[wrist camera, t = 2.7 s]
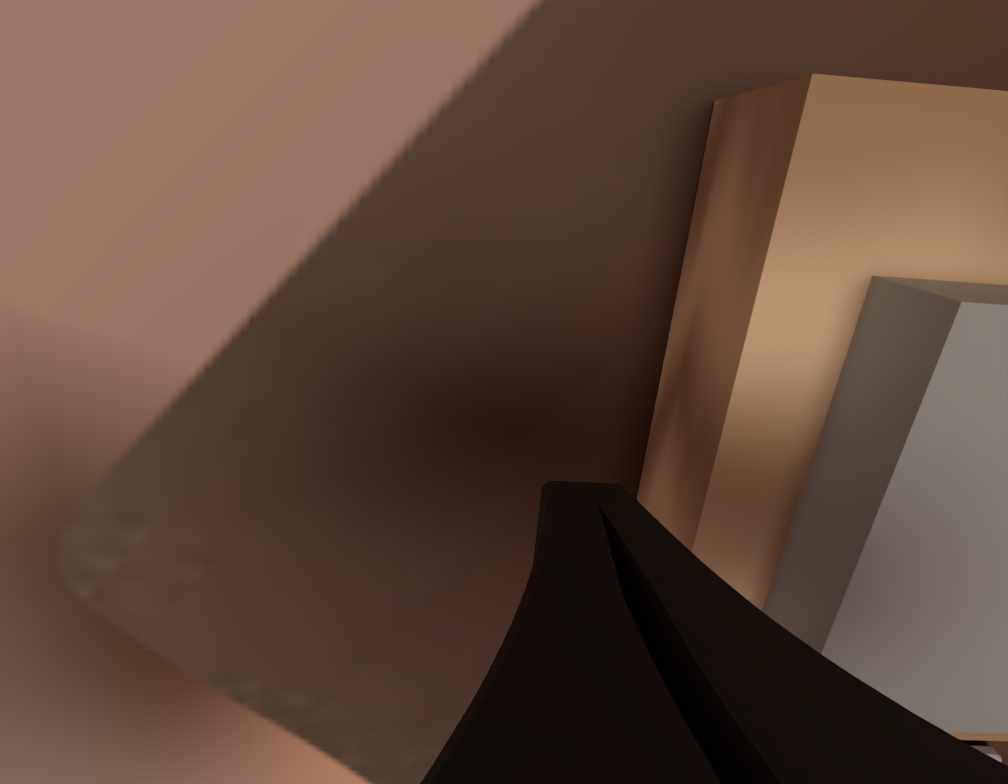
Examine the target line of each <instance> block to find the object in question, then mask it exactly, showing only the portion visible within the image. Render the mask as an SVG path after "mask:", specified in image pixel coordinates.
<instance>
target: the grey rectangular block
mask: <svg viewBox="0 0 1008 784" xmlns="http://www.w3.org/2000/svg"><path fill="white" fill-rule="evenodd" d="M762 612H764V613H765V614H766V615H768V616H769V617H770V618H771V619H773V620H774V621H775V622H777V623H778V624H780V625H781V626H782V627H784V628H785V629H787V630H788V631H789V632H791V633H792V634H794V635H795V636H796V637H798V638H799V639H801V640H802V641H803V642H805V643H806V644H808V645H809V646H810V647H812V648H813V649H815V650H816V651H817V652H819V653H820V654H822V655H823V656H825V657H826V658H827V659H829V660H831V661H832V662H834V663H835V664H837V665H838V666H840V667H841V668H843V669H844V670H846V671H847V672H849V673H850V674H852V675H853V676H855V677H856V678H858V679H860V680H861V681H863V682H864V683H866V684H868V685H869V686H871V687H872V688H874V689H876V690H877V691H879V692H880V693H882V694H884V695H885V696H887V697H888V698H890V699H892V700H893V701H895V702H897V703H898V704H900V705H901V706H903V707H905V708H906V709H908V710H909V711H911V712H913V713H914V714H916V715H918V716H919V717H921V718H923V719H925V720H926V721H928V722H930V723H932V724H933V725H935V726H937V727H938V728H940V729H942V730H944V731H945V732H964V733H1003V734H1008V285H998V284H984V283H970V282H956V281H941V280H927V279H913V278H899V277H885V276H872V279H871V282H870V285H869V288H868V291H867V294H866V297H865V300H864V303H863V306H862V309H861V312H860V315H859V318H858V321H857V324H856V327H855V330H854V333H853V336H852V339H851V342H850V345H849V348H848V351H847V354H846V358H845V361H844V364H843V367H842V370H841V373H840V376H839V379H838V382H837V385H836V388H835V391H834V394H833V397H832V400H831V403H830V406H829V409H828V412H827V415H826V418H825V421H824V424H823V427H822V430H821V433H820V436H819V439H818V442H817V446H816V449H815V452H814V455H813V458H812V461H811V464H810V467H809V470H808V473H807V476H806V479H805V482H804V485H803V488H802V491H801V494H800V497H799V500H798V503H797V506H796V509H795V512H794V515H793V518H792V521H791V524H790V527H789V531H788V534H787V537H786V540H785V543H784V546H783V549H782V552H781V555H780V558H779V561H778V564H777V567H776V570H775V573H774V576H773V579H772V582H771V585H770V588H769V591H768V594H767V597H766V600H765V603H764V606H763V609H762Z"/></svg>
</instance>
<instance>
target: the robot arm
mask: <svg viewBox="0 0 1008 784" xmlns="http://www.w3.org/2000/svg"><path fill="white" fill-rule="evenodd" d="M1001 762H1002V758H1001V756H1000V755H999V754H998V753H997V752H996V751H995V749H993V748H992V747H989V746H972V745H968V744H966V743H964V742H963V741H961V740H959V739H957V738H956V737H954V736H952V735H951V734H949V733H947V732H945V731H944V730H942V729H940V728H938V727H937V726H935V725H933V724H932V723H930V722H928V721H926V720H925V719H923V718H921V717H919V716H918V715H916V714H914V713H913V712H911V711H909V710H908V709H906V708H905V707H903V706H901V705H900V704H898V703H897V702H895V701H893V700H892V699H890V698H888V697H887V696H885V695H884V694H882V693H880V692H879V691H877V690H876V689H874V688H872V687H871V686H869V685H868V684H866V683H864V682H863V681H861V680H860V679H858V678H856V677H855V676H853V675H852V674H850V673H849V672H847V671H846V670H844V669H843V668H841V667H840V666H838V665H837V664H835V663H834V662H832V661H831V660H829V659H827V658H826V657H825V656H823V655H822V654H820V653H819V652H817V651H816V650H815V649H813V648H812V647H810V646H809V645H808V644H806V643H805V642H803V641H802V640H801V639H799V638H798V637H796V636H795V635H794V634H792V633H791V632H789V631H788V630H787V629H785V628H784V627H782V626H781V625H780V624H778V623H777V622H775V621H774V620H773V619H771V618H770V617H769V616H768V615H766V614H765V613H764V612H762V611H761V610H760V609H758V608H757V607H756V606H755V605H753V604H752V603H751V602H750V601H748V600H747V599H746V598H745V597H743V596H742V595H741V594H740V593H739V592H737V591H736V590H735V589H734V588H733V587H731V586H730V585H729V584H728V583H726V582H725V581H724V580H723V579H722V578H720V577H719V576H718V575H717V574H716V573H715V572H713V571H712V570H711V569H710V568H709V567H708V566H707V565H705V564H704V563H703V562H702V561H701V560H700V559H699V558H697V557H696V556H695V555H694V554H693V553H692V552H691V551H690V550H689V549H688V548H686V547H685V546H684V545H683V544H682V543H681V542H680V541H679V540H678V539H677V538H676V537H675V536H674V535H673V534H671V533H670V532H669V531H668V530H667V529H666V528H665V527H664V526H663V525H662V524H661V523H660V522H659V521H658V520H657V519H656V518H655V517H654V516H653V515H652V514H651V513H650V512H649V511H648V510H646V509H645V508H644V507H643V506H642V505H641V504H640V503H639V502H638V501H637V500H636V499H635V498H634V497H633V496H632V495H631V494H630V493H629V492H628V491H627V490H626V489H624V488H623V487H622V486H621V485H620V484H607V483H586V482H565V481H549V482H547V483H546V484H545V485H543V486H542V492H541V501H540V509H539V518H538V526H537V535H536V544H535V552H534V561H533V568H532V571H531V574H530V577H529V580H528V583H527V586H526V589H525V592H524V594H523V597H522V599H521V602H520V605H519V607H518V610H517V612H516V614H515V617H514V619H513V621H512V624H511V626H510V628H509V630H508V632H507V635H506V637H505V639H504V641H503V643H502V645H501V647H500V649H499V651H498V653H497V655H496V657H495V659H494V661H493V663H492V665H491V667H490V669H489V671H488V673H487V675H486V677H485V679H484V681H483V682H482V684H481V686H480V688H479V690H478V692H477V693H476V695H475V697H474V699H473V700H472V702H471V704H470V706H469V707H468V709H467V710H466V712H465V714H464V715H463V717H462V719H461V720H460V722H459V723H458V725H457V727H456V728H455V730H454V732H453V733H452V735H451V736H450V738H449V740H448V741H447V743H446V745H445V746H444V748H443V749H442V751H441V753H440V754H439V756H438V758H437V759H436V761H435V762H434V764H433V765H432V767H431V768H430V770H429V771H428V773H427V774H426V776H425V777H424V779H423V780H422V782H421V783H420V784H1008V766H1007V765H1005V764H1003V763H1001Z"/></svg>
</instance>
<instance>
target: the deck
mask: <svg viewBox="0 0 1008 784" xmlns="http://www.w3.org/2000/svg"><path fill="white" fill-rule="evenodd" d="M872 276H885V277H899V278H913V279H927V280H941V281H956V282H970V283H984V284H998V285H1008V91H999V90H988V89H977V88H966V87H955V86H944V85H933V84H922V83H911V82H899V81H888V80H877V79H866V78H855V77H844V76H833V75H822V74H809V75H806V76H802V77H798V78H795V79H791V80H788V81H784V82H780V83H777V84H773V85H769V86H766V87H762V88H758V89H755V90H751V91H747V92H744V93H740V94H736V95H733V96H729V97H725V98H722V99H718V100H715V101H714V106H713V111H712V117H711V122H710V127H709V132H708V137H707V142H706V147H705V152H704V158H703V163H702V168H701V173H700V178H699V183H698V188H697V193H696V198H695V204H694V209H693V214H692V219H691V224H690V229H689V234H688V239H687V244H686V250H685V255H684V260H683V265H682V270H681V275H680V280H679V285H678V290H677V296H676V301H675V306H674V311H673V316H672V321H671V326H670V331H669V337H668V342H667V347H666V352H665V357H664V362H663V367H662V372H661V377H660V383H659V388H658V393H657V398H656V403H655V408H654V413H653V418H652V423H651V429H650V434H649V439H648V444H647V449H646V454H645V459H644V464H643V470H642V475H641V480H640V485H639V490H638V495H637V501H638V502H639V503H640V504H641V505H642V506H643V507H644V508H645V509H646V510H648V511H649V512H650V513H651V514H652V515H653V516H654V517H655V518H656V519H657V520H658V521H659V522H660V523H661V524H662V525H663V526H664V527H665V528H666V529H667V530H668V531H669V532H670V533H671V534H673V535H674V536H675V537H676V538H677V539H678V540H679V541H680V542H681V543H682V544H683V545H684V546H685V547H686V548H688V549H689V550H690V551H691V552H692V553H693V554H694V555H695V556H696V557H697V558H699V559H700V560H701V561H702V562H703V563H704V564H705V565H707V566H708V567H709V568H710V569H711V570H712V571H713V572H715V573H716V574H717V575H718V576H719V577H720V578H722V579H723V580H724V581H725V582H726V583H728V584H729V585H730V586H731V587H733V588H734V589H735V590H736V591H737V592H739V593H740V594H741V595H742V596H743V597H745V598H746V599H747V600H748V601H750V602H751V603H752V604H753V605H755V606H756V607H757V608H758V609H760V610H761V611H762V609H763V606H764V603H765V600H766V597H767V594H768V591H769V588H770V585H771V582H772V579H773V576H774V573H775V570H776V567H777V564H778V561H779V558H780V555H781V552H782V549H783V546H784V543H785V540H786V537H787V534H788V531H789V527H790V524H791V521H792V518H793V515H794V512H795V509H796V506H797V503H798V500H799V497H800V494H801V491H802V488H803V485H804V482H805V479H806V476H807V473H808V470H809V467H810V464H811V461H812V458H813V455H814V452H815V449H816V446H817V442H818V439H819V436H820V433H821V430H822V427H823V424H824V421H825V418H826V415H827V412H828V409H829V406H830V403H831V400H832V397H833V394H834V391H835V388H836V385H837V382H838V379H839V376H840V373H841V370H842V367H843V364H844V361H845V358H846V354H847V351H848V348H849V345H850V342H851V339H852V336H853V333H854V330H855V327H856V324H857V321H858V318H859V315H860V312H861V309H862V306H863V303H864V300H865V297H866V294H867V291H868V288H869V285H870V282H871V279H872ZM947 733H949V734H951V735H952V736H954V737H956V738H957V739H959V740H983V741H1008V734H1003V733H964V732H947Z"/></svg>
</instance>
